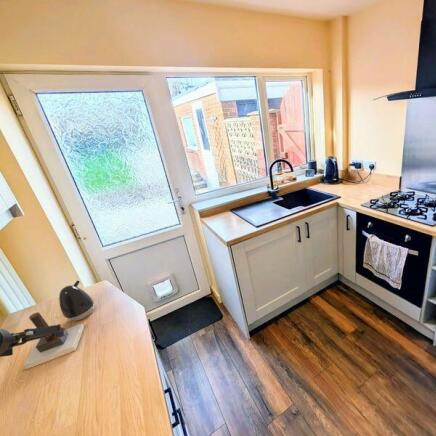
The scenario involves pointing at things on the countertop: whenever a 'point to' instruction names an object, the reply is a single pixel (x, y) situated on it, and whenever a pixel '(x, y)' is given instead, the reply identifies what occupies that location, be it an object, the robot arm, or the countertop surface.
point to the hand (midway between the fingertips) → (37, 341)
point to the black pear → (75, 302)
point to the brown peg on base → (47, 341)
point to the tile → (50, 354)
